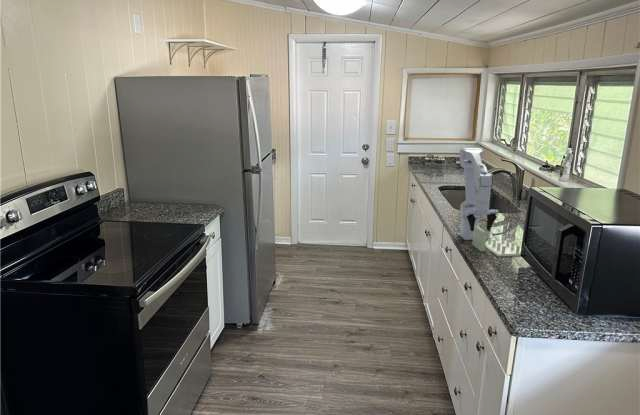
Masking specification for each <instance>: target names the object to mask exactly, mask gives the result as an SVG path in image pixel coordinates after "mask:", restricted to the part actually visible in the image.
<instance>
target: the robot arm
mask: <svg viewBox="0 0 640 415" xmlns="http://www.w3.org/2000/svg"><path fill="white" fill-rule="evenodd" d="M483 156H484V151H483V148H482V147H461V148H460V149H459V164H460V167H462V168H463V172H464V174H463V175H464V186H465V192H464V193H465V200H464V201H463V202H461V204H460V206H459V216H460V219H461V220H460V224H459V232H457V235H458V236H459V237H460V238H462V239H463V240H465V241H469V240H470V241H471V240H472V241H473V231H474V226H479V224H480V223H479V222H480V221H481V220H482V219H483V217H484V216H486V220H487V221H486V231H488V232H491V230H492V227H493V224H494V223H495V221H497V220H496V219H498V216H499V210H498V209H490V200H491V189H492V188H493V186H494V180H495V179H494V174H493V173H490V172H489V171H488V168H487V166H486V165H485V164H484V163H483V162H482V159H483Z"/></svg>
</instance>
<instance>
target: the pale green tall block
mask: <svg viewBox="0 0 640 415" xmlns="http://www.w3.org/2000/svg"><path fill="white" fill-rule="evenodd" d="M487 233H488V232H487V230H484V229H483V228H481V227H480V226H479V225H478V226H474V231H473V240H472V242H471V243H472V246H473V247H474V248H476V249H477V250H478V251H480V252H486V247H485V246H486V241H487V235H488V234H487Z"/></svg>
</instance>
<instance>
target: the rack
mask: <svg viewBox="0 0 640 415" xmlns="http://www.w3.org/2000/svg"><path fill="white" fill-rule="evenodd" d="M510 241H511V240H510V238H506V236H505V235H502V236H501V240H497V239H495V238H493V237H492V236H491V235H488V240H486V246H485V249H487V250H488V251H490V252H491V253H492V254H493V255H495V256H496V257H521V256H520V251H521V250H522V249H521V246H520V245H518V244H517V245H515V242H514V241H511V242H510Z"/></svg>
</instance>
